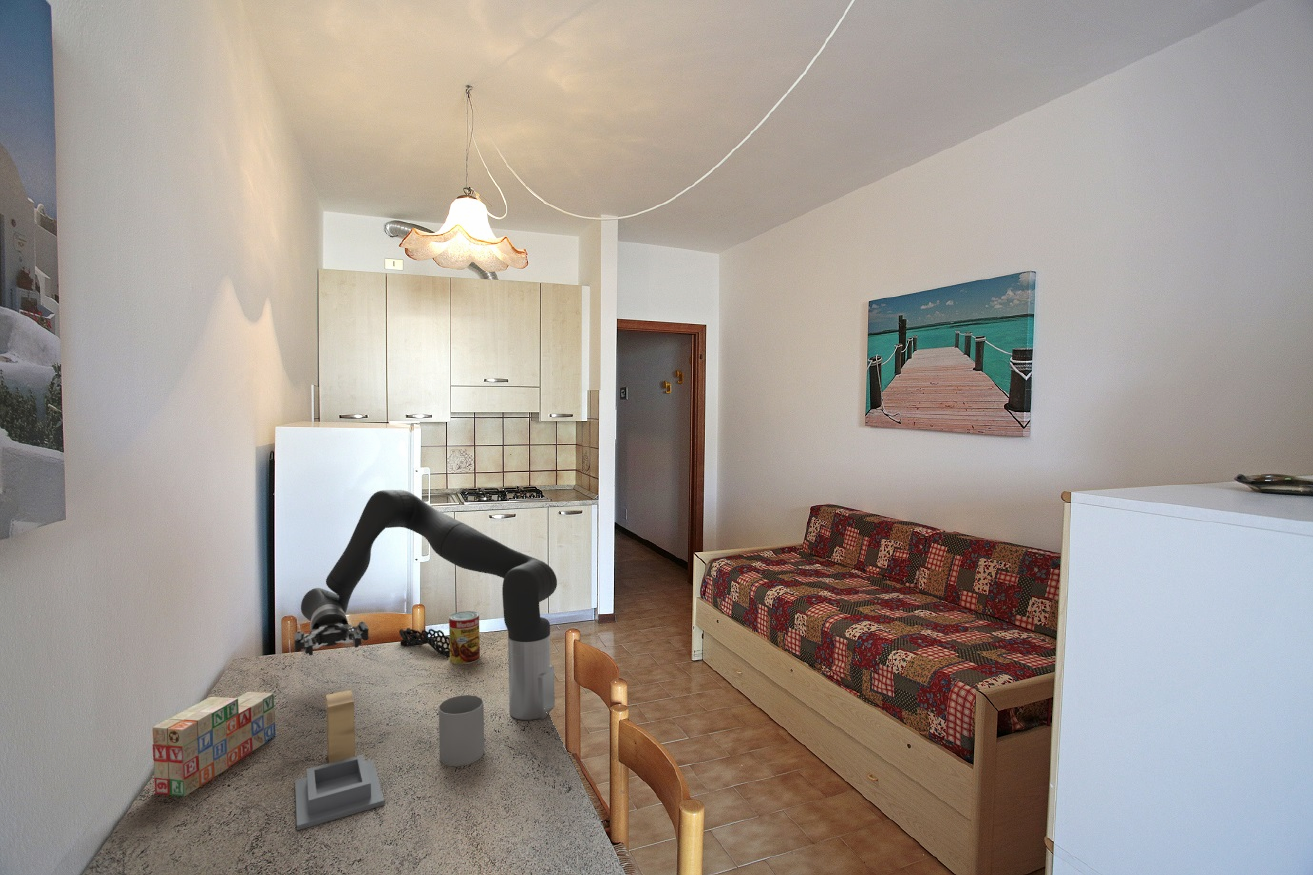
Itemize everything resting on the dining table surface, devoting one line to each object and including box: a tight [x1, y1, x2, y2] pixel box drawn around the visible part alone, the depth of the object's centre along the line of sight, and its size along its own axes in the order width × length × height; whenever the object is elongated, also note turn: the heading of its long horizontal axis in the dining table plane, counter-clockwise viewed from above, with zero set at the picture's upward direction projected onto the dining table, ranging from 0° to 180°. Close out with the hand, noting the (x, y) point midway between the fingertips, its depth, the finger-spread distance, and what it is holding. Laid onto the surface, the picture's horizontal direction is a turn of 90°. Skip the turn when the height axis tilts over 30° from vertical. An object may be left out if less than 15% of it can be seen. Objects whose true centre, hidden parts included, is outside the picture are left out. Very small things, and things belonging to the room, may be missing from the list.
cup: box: [438, 694, 485, 767], centre depth 125 cm, size 8×8×10 cm
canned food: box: [448, 610, 481, 665], centre depth 174 cm, size 8×8×12 cm
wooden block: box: [325, 689, 356, 763], centre depth 124 cm, size 6×4×12 cm
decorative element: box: [398, 627, 450, 658], centre depth 182 cm, size 22×5×6 cm, turn 58°
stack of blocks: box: [152, 691, 277, 797], centre depth 123 cm, size 21×6×12 cm, turn 170°
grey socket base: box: [294, 754, 385, 831], centre depth 112 cm, size 15×13×3 cm
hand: (334, 646), depth 133 cm, fingers open, 8 cm apart
